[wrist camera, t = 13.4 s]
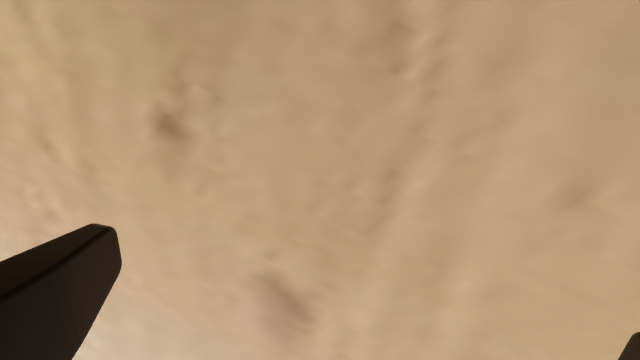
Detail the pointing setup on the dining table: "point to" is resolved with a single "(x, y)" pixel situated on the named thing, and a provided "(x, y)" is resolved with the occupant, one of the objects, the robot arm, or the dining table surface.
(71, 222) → the dining table surface
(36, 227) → the dining table surface
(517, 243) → the dining table surface
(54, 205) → the dining table surface
